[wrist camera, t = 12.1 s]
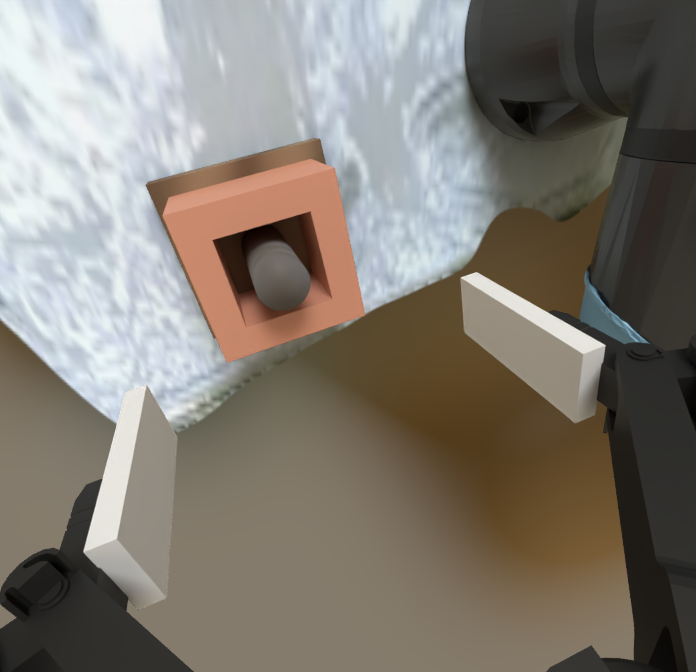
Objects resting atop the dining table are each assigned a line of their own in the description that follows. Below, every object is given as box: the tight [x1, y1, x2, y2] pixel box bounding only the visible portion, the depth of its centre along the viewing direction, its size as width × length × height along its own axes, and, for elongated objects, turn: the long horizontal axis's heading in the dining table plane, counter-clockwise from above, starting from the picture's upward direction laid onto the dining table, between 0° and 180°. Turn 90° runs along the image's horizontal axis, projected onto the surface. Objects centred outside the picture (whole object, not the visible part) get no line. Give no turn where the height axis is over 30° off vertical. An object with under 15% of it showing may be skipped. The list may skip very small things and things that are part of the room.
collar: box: [162, 159, 365, 363], centre depth 28 cm, size 10×10×6 cm
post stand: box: [146, 138, 325, 338], centre depth 28 cm, size 12×12×10 cm
